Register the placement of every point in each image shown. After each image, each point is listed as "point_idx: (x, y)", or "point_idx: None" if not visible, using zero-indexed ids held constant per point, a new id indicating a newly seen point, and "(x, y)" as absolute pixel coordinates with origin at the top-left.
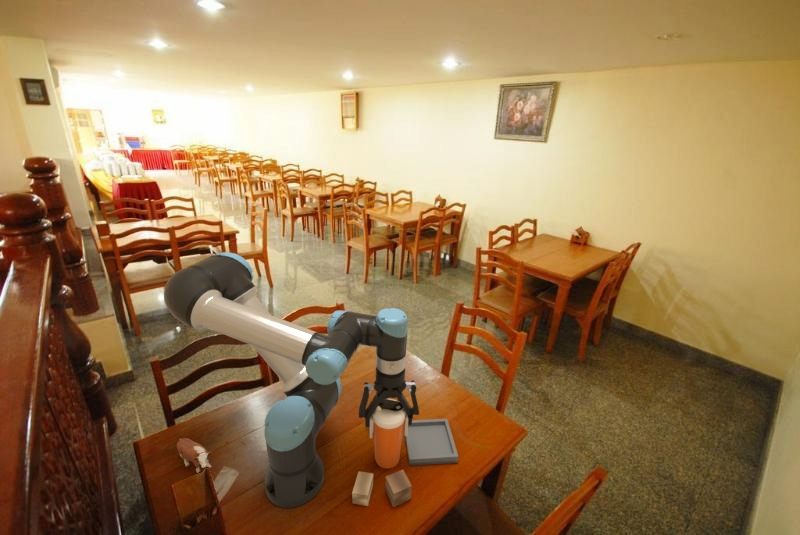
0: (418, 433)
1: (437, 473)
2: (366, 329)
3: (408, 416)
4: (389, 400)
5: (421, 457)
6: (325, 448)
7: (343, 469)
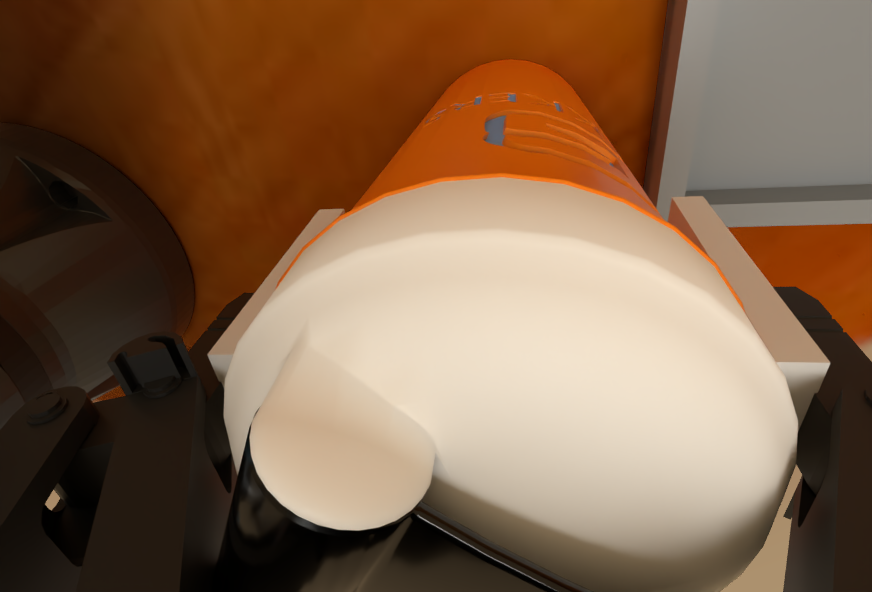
0: None
1: (805, 256)
2: None
3: (796, 490)
4: (487, 585)
5: (745, 217)
6: (101, 67)
7: (262, 212)
